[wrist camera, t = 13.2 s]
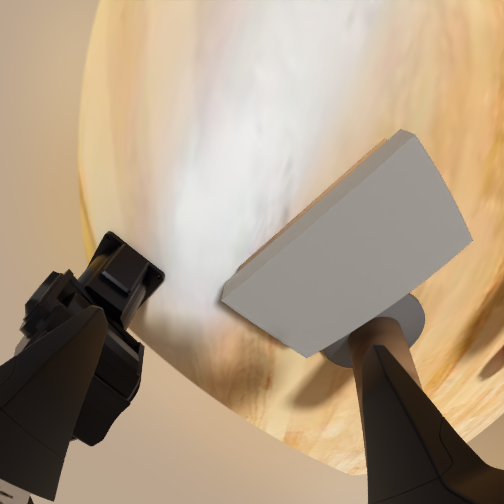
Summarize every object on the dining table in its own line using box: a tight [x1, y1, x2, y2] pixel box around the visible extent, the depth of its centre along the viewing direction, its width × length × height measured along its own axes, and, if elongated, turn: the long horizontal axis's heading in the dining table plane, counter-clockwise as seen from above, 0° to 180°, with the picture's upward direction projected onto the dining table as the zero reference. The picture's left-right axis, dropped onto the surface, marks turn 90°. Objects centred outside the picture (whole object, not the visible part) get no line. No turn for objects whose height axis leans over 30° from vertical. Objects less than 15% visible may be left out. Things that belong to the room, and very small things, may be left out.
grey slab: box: [221, 129, 473, 358], centre depth 19 cm, size 16×9×4 cm, turn 138°
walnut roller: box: [348, 317, 422, 466], centre depth 20 cm, size 6×6×13 cm
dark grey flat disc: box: [323, 293, 425, 368], centre depth 25 cm, size 11×11×1 cm
